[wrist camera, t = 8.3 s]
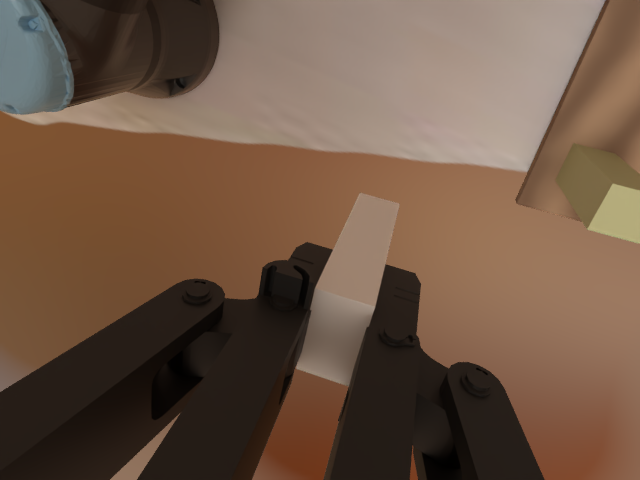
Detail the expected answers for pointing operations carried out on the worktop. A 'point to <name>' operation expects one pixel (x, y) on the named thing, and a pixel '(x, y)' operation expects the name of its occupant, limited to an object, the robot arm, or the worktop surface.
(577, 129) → the walnut board
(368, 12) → the worktop surface
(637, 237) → the olive pillar
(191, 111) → the worktop surface
